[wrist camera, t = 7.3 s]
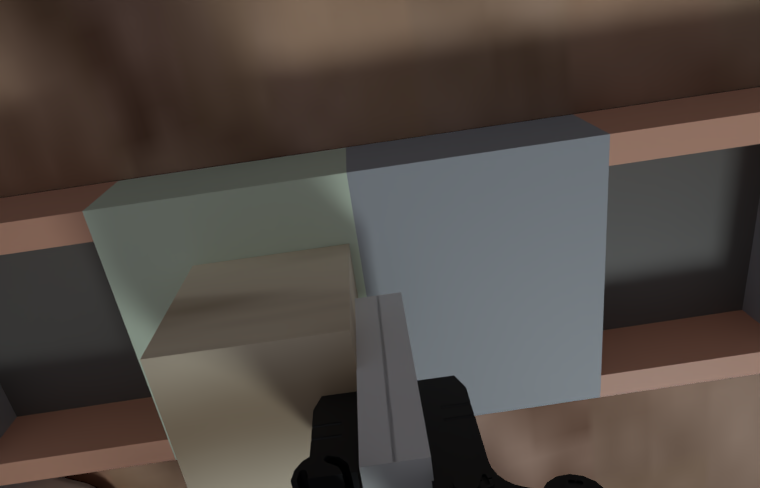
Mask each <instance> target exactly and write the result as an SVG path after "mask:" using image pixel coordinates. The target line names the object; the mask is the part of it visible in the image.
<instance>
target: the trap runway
mask: <svg viewBox="0 0 760 488" xmlns="http://www.w3.org/2000/svg"><path fill="white" fill-rule="evenodd" d="M343 244H349V246H350V252H351V258H352V264H353V270H354V276H355V282H356V288H357V294H358V298H363V297H370V296H377V295H384V294H391V293H398V292H401V295H402V301H403V306H404V312H405V317H406V323H407V328H408V334H409V339H410V345H411V350H412V355H413V361H414V366H415V372H416V377H417V380H424V379H432V378H439V377H446V376H453V375H454V376H455V377H456V378H457V379H458V380H459V381H460V382H461V383H462V384H463V385H464V386H465V387H466V389H467V392H468V396H469V399H470V403H471V406H472V409H473V412H474V416H476V415H483V414H490V413H496V412H503V411H510V410H517V409H523V408H530V407H537V406H544V405H550V404H557V403H564V402H571V401H577V400H584V399H591V398H598V397H605V396H611V395H618V394H625V393H632V392H638V391H645V390H652V389H659V388H665V387H672V386H679V385H686V384H693V383H699V382H706V381H713V380H720V379H726V378H733V377H740V376H747V375H753V374H760V87H756V88H749V89H742V90H736V91H729V92H722V93H715V94H708V95H701V96H695V97H688V98H681V99H674V100H667V101H660V102H654V103H647V104H640V105H633V106H626V107H619V108H613V109H606V110H599V111H592V112H585V113H578V114H572V115H565V116H558V117H551V118H544V119H537V120H531V121H524V122H517V123H510V124H503V125H496V126H490V127H483V128H476V129H469V130H462V131H455V132H449V133H442V134H435V135H428V136H421V137H414V138H408V139H401V140H394V141H387V142H380V143H373V144H367V145H360V146H353V147H346V148H339V149H333V150H326V151H319V152H312V153H305V154H298V155H292V156H285V157H278V158H271V159H264V160H257V161H251V162H244V163H237V164H230V165H223V166H216V167H210V168H203V169H196V170H189V171H182V172H175V173H169V174H162V175H155V176H148V177H141V178H134V179H128V180H121V181H114V182H107V183H100V184H93V185H87V186H80V187H73V188H66V189H59V190H52V191H46V192H39V193H32V194H25V195H18V196H11V197H5V198H0V486H2V485H9V484H16V483H23V482H29V481H36V480H43V479H50V478H56V477H63V476H70V475H77V474H83V473H90V472H97V471H104V470H111V469H117V468H124V467H131V466H138V465H144V464H151V463H158V462H165V461H171V460H177V458H176V456H175V453H174V450H173V448H172V445H171V442H170V439H169V437H168V434H167V431H166V429H165V426H164V423H163V421H162V418H161V415H160V413H159V410H158V407H157V404H156V402H155V399H154V396H153V394H152V391H151V388H150V386H149V383H148V380H147V377H146V375H145V372H144V369H143V367H142V364H141V361H140V359H141V357H142V355H143V353H144V351H145V350H146V348H147V346H148V344H149V343H150V341H151V339H152V337H153V335H154V334H155V332H156V330H157V328H158V326H159V325H160V323H161V321H162V319H163V318H164V316H165V314H166V312H167V310H168V309H169V307H170V305H171V303H172V302H173V300H174V298H175V296H176V294H177V293H178V291H179V289H180V287H181V286H182V284H183V282H184V280H185V278H186V277H187V275H188V273H189V271H190V269H191V268H192V266H194V265H201V264H208V263H215V262H222V261H229V260H236V259H243V258H250V257H258V256H265V255H272V254H279V253H286V252H293V251H300V250H307V249H315V248H322V247H329V246H336V245H343Z"/></svg>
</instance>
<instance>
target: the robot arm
mask: <svg viewBox="0 0 760 488" xmlns="http://www.w3.org/2000/svg"><path fill="white" fill-rule="evenodd" d="M355 320H356V355H357V369H356V373H357V391H356V392H348V393H341V394H334V395H327V396H321V398H320V400H319V401H318V403H317V405H316V406H315V408H314V410H313V420H312V433H311V446H310V457H308V458H307V459H305V460H303V461H302V462H301V463H300V464H299V465H298V467H297V468H296V469H295V470H294V472H293V475H292V478H291V485H292V488H528V487H522V486H518V485H514V484H512V483H510V482H508V481H505V480H504V479H502V478H501V477H500V476H498V475H497V474H496V473H495V471H494V470H493V469H492V468H491V466H490V464H489V462H488V459H487V455H486V452H485V449H484V445H483V442H482V439H481V435H480V432H479V429H478V425H477V422H476V419H475V417H474V412H473V409H472V406H471V403H470V399H469V396H468V392H467V389H466V387H465V386H464V385H463V384H462V383H461V382H460V381H459V380H458V379H457V378H456V377H455V376H454V375H453V376H446V377H439V378H432V379H424V380H417V377H416V372H415V366H414V361H413V355H412V350H411V345H410V339H409V334H408V328H407V323H406V317H405V312H404V306H403V301H402V295H401V292H398V293H391V294H384V295H377V296H370V297H363V298H356V299H355ZM544 488H603V487H602V486H601V485H599V484H598V483H597V482H596V481H593V480H591V479H589V478H586V477H584V476H579V475H571V474H568V475H562V476H557V477H555V478H554V479H552V480H550V481H549V482H547V483H546V485H545V487H544Z"/></svg>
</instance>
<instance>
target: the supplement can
mask: <svg viewBox="0 0 760 488" xmlns="http://www.w3.org/2000/svg"><path fill="white" fill-rule="evenodd" d="M0 488H95V487H94V486H92V485H90V484H88V483H84V482H79V481H75V480H71V479H67V478H63V477H56V478H50V479H43V480H36V481H29V482H23V483H16V484H9V485H2V486H0Z"/></svg>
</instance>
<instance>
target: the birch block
mask: <svg viewBox="0 0 760 488" xmlns="http://www.w3.org/2000/svg"><path fill="white" fill-rule="evenodd" d="M356 298H358V294H357V288H356V282H355V276H354V270H353V264H352V258H351V252H350V246H349V244H343V245H336V246H329V247H322V248H315V249H307V250H300V251H293V252H286V253H279V254H272V255H265V256H258V257H250V258H243V259H236V260H229V261H222V262H215V263H208V264H201V265H194V266H192V268H191V269H190V271H189V273H188V275H187V277H186V278H185V280H184V282H183V284H182V286H181V287H180V289H179V291H178V293H177V294H176V296H175V298H174V300H173V302H172V303H171V305H170V307H169V309H168V310H167V312H166V314H165V316H164V318H163V319H162V321H161V323H160V325H159V326H158V328H157V330H156V332H155V334H154V335H153V337H152V339H151V341H150V343H149V344H148V346H147V348H146V350H145V351H144V353H143V355H142V357H141V359H140V361H141V364H142V367H143V369H144V372H145V375H146V377H147V380H148V383H149V386H150V388H151V391H152V394H153V396H154V399H155V402H156V404H157V407H158V410H159V413H160V415H161V418H162V421H163V423H164V426H165V429H166V431H167V434H168V437H169V439H170V442H171V445H172V448H173V450H174V453H175V456H176V458H177V461H178V464H179V466H180V469H181V472H182V475H183V477H184V480H185V483H186V485H187V488H292V485H291V478H292V475H293V472H294V470H295V469H296V468H297V467H298V465H299V464H300V463H301V462H302V461H303V460H305V459H307V458H308V457H310V446H311V433H312V420H313V410H314V408H315V406H316V405H317V403H318V401H319V400H320V398H321V396H327V395H334V394H341V393H348V392H356V391H357V373H356V369H357V355H356V320H355V299H356Z"/></svg>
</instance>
